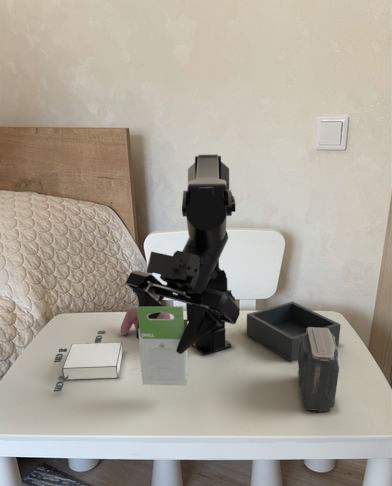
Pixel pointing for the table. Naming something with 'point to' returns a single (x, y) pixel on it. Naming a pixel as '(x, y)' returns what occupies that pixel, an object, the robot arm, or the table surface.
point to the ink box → (162, 347)
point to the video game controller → (136, 319)
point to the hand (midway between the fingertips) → (157, 345)
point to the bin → (286, 327)
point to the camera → (318, 368)
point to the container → (91, 361)
